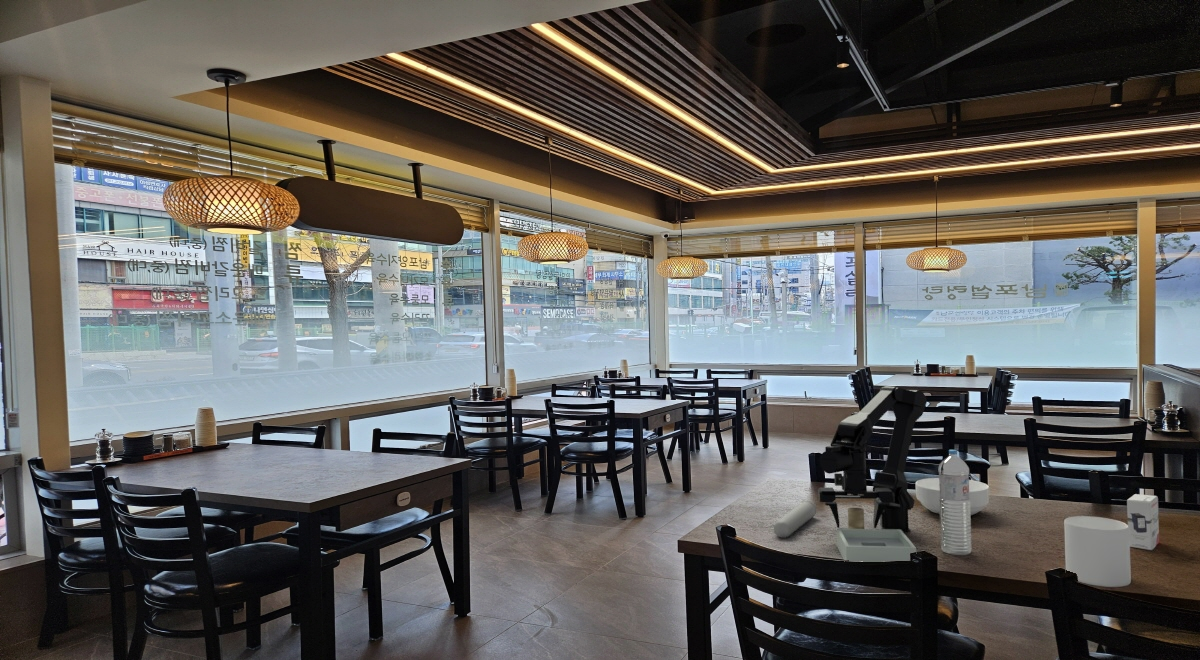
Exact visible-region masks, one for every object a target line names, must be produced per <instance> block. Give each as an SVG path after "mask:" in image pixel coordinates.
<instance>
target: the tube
mask: <svg viewBox="0 0 1200 660" xmlns="http://www.w3.org/2000/svg"><path fill="white" fill-rule="evenodd" d="M816 515H817V505H816V504H815V503H813V502H812V501H810V500H805V499H803V500H802V501H801V503H799V504H798V505H797V506H795V507H793V509H791V510H789V511H788V512H787V513H786V514H785V515H782V516H781V517H779V519H777V520H776V522H775V523H774V524H773V533H774V534H775V536H777V537H778V538H783V537H784V538H783V539H787V538H788V537H790V536H791V535H792V534H793V533H795V532H796V531H797V530H799V529H800V528H801V527H802V526H803V525H805V524H806V523H807V522H809V520H811V519H813V518H814V517H815V516H816ZM810 518H811V519H810ZM805 522H806V523H805ZM799 527H800V528H799ZM794 531H795V532H794ZM786 537H787V538H786Z"/></svg>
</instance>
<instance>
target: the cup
mask: <svg viewBox="0 0 1200 660" xmlns="http://www.w3.org/2000/svg"><path fill="white" fill-rule="evenodd" d="M1063 521H1064V525H1063V526H1064V527H1063V528H1064V556H1065V557H1064V559H1065V561H1064V562H1065V571H1066V570H1067V571H1070V572H1073V573H1076V574H1077V576H1078V581H1077V582H1078V583H1083V584H1085V585H1091V586H1095V587H1103V588H1104V587H1106V588H1119V587H1126V586H1129V585H1130V584H1131V581H1132V578H1131V575H1132V572H1131V570H1132V569H1131V547H1130V537H1129V526H1128V523H1125V522H1123V521H1121V520H1118V519H1117V520H1116V519H1112V518H1107V517H1101V516H1091V515H1089V516H1088V515H1076V516H1068V517H1066V518H1065V519H1064V520H1063Z"/></svg>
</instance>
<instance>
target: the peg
mask: <svg viewBox="0 0 1200 660" xmlns="http://www.w3.org/2000/svg"><path fill="white" fill-rule="evenodd" d="M847 524H848V525H847V527H848V528H847V529H865V509H864V508H862V507H848V508H847Z"/></svg>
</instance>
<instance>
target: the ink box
mask: <svg viewBox="0 0 1200 660" xmlns="http://www.w3.org/2000/svg"><path fill="white" fill-rule="evenodd" d="M1126 511H1127V525H1128V526H1129V537H1130V548H1135V549H1136V548H1137V549H1142V550H1148V551H1153V550H1154V549H1155V548H1156V547H1157V545H1159V543H1160V531H1159V527H1160V525H1159V523H1160V521H1159V520H1160V519H1159V498H1158V496H1157V495H1147V494H1139V493H1138V494H1137V493H1135V494H1133V495H1132V496H1130V497H1129V498H1128V499H1127V500H1126Z"/></svg>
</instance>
